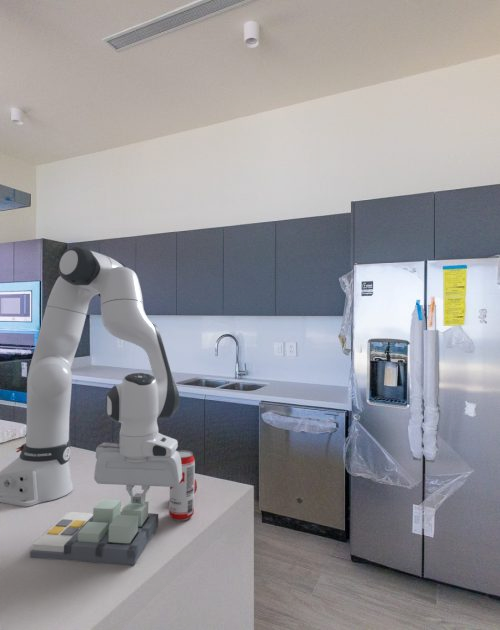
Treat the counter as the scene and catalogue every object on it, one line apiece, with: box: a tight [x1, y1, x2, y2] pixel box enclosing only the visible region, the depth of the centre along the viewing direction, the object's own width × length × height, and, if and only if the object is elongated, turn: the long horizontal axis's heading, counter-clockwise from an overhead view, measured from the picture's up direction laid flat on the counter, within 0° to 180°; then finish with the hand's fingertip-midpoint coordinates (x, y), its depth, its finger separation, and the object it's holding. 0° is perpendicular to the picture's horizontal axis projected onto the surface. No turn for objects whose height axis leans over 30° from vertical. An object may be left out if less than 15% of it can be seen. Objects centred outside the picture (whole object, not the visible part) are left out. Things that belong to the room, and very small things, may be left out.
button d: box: [121, 500, 149, 526], centre depth 91 cm, size 5×5×4 cm
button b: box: [92, 498, 122, 524], centre depth 92 cm, size 5×5×4 cm
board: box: [29, 511, 159, 566], centre depth 88 cm, size 23×15×3 cm
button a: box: [78, 522, 108, 543], centre depth 85 cm, size 5×5×4 cm
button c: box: [108, 515, 138, 544], centre depth 84 cm, size 5×5×4 cm
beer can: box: [168, 449, 196, 522], centre depth 100 cm, size 6×6×16 cm
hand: (138, 502), depth 92 cm, fingers closed
